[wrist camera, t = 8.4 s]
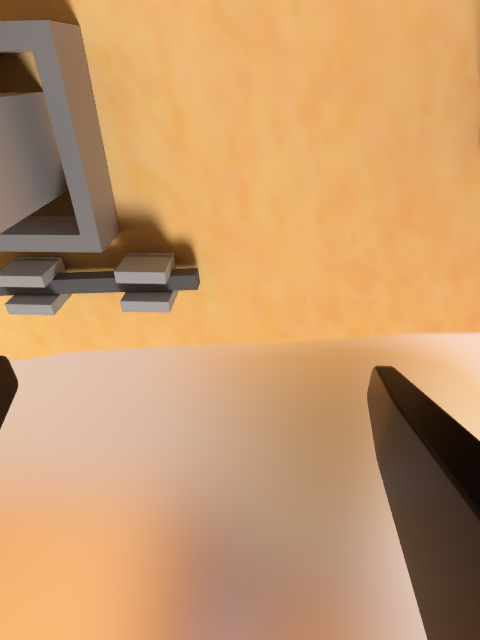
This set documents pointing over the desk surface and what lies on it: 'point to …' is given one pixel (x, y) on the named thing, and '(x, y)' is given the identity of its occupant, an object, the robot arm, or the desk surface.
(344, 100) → the desk surface
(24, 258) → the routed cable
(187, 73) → the desk surface
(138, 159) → the desk surface
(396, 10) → the desk surface
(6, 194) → the block
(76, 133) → the frame
